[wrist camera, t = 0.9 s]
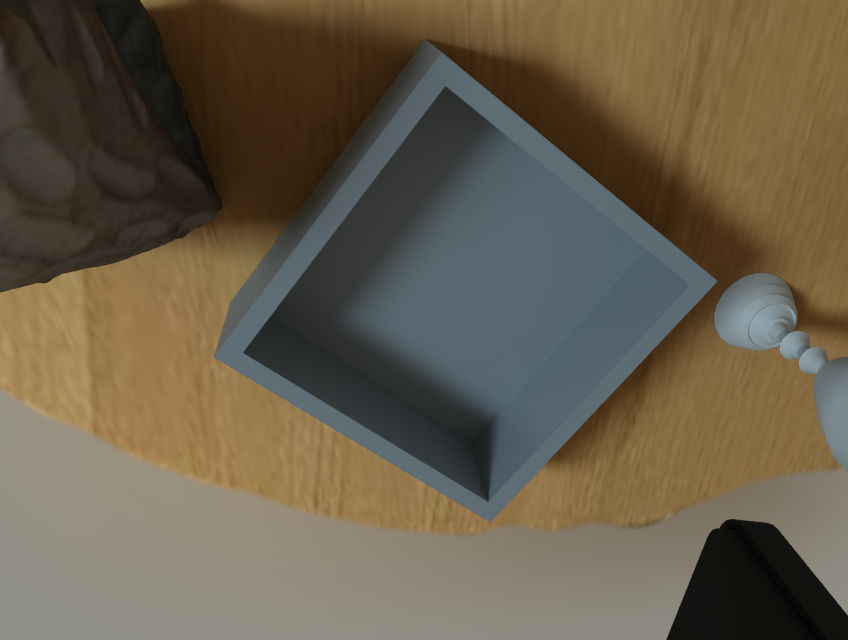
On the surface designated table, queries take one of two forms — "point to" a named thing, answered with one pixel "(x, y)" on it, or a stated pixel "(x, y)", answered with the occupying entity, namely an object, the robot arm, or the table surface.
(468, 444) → the bin
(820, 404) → the chalice
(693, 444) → the table surface
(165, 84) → the grey faceted rock
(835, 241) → the table surface
